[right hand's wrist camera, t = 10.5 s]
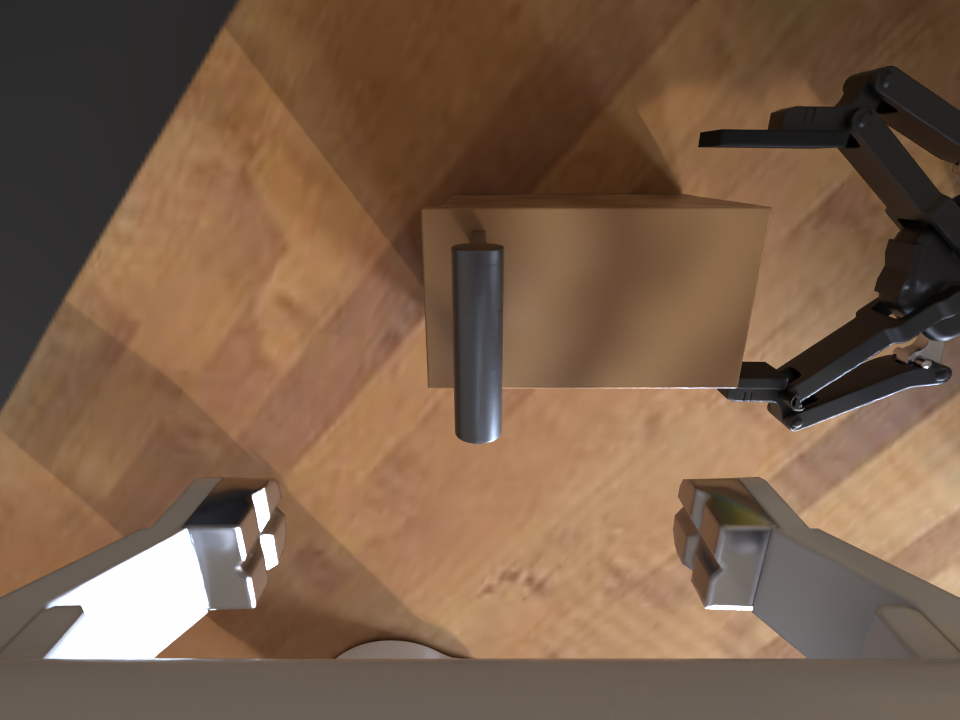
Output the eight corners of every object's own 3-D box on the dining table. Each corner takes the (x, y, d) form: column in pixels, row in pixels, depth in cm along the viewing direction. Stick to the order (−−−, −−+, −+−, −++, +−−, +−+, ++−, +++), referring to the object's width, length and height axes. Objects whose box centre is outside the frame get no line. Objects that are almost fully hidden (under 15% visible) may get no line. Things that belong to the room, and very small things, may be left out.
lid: (430, 380, 28) (410, 463, 20) (423, 205, 25) (396, 224, 17) (727, 379, 28) (822, 463, 20) (759, 205, 25) (888, 223, 17)
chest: (454, 327, 37) (445, 379, 28) (451, 194, 34) (440, 205, 25) (667, 327, 37) (726, 379, 28) (684, 194, 34) (759, 204, 25)
